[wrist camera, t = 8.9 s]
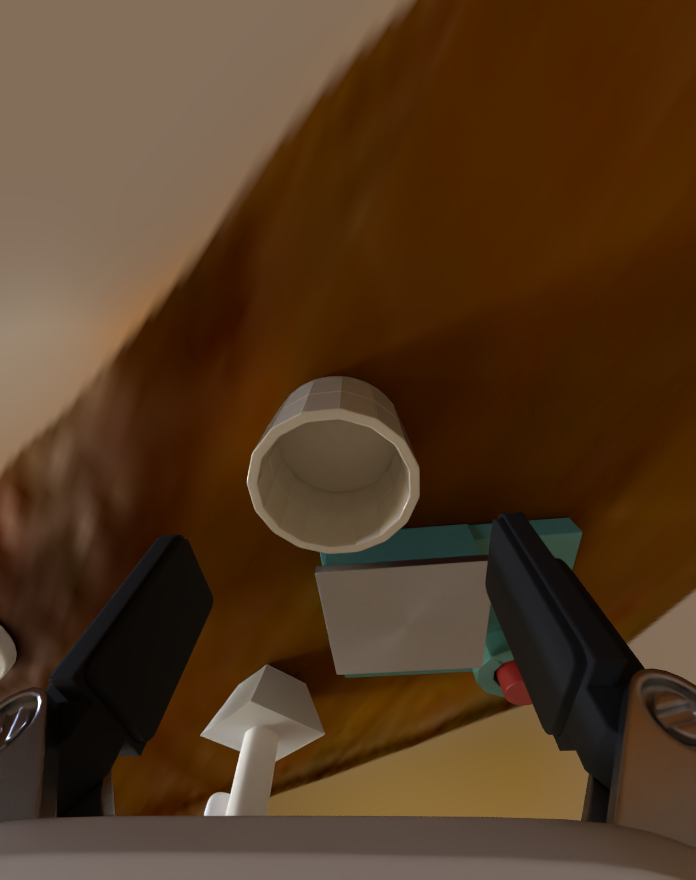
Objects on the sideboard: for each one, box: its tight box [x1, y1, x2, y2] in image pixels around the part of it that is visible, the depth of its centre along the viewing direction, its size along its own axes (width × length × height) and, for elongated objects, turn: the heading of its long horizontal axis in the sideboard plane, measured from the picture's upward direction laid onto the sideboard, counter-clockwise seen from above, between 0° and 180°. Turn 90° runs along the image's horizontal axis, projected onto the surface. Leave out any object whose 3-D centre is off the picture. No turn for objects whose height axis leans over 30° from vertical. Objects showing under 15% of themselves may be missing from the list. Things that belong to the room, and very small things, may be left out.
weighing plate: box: [315, 524, 491, 675], centre depth 21 cm, size 10×10×4 cm
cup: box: [247, 376, 420, 554], centre depth 16 cm, size 7×7×5 cm
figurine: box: [200, 664, 325, 816], centre depth 22 cm, size 7×9×15 cm
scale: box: [320, 518, 582, 697], centre depth 23 cm, size 16×14×3 cm
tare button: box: [496, 660, 533, 705], centre depth 22 cm, size 3×3×2 cm
